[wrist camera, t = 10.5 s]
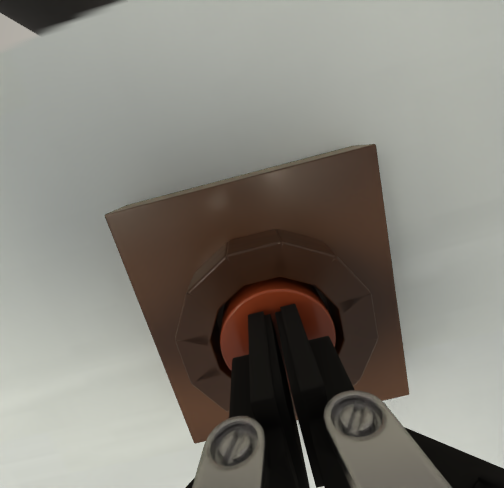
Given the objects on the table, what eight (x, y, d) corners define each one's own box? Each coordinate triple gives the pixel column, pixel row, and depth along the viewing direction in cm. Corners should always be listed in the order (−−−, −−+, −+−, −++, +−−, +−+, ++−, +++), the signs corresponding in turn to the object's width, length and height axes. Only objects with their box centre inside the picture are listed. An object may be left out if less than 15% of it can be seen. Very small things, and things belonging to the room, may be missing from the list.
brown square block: (125, 205, 13) (78, 225, 9) (354, 145, 13) (402, 141, 9) (200, 406, 16) (187, 484, 13) (387, 363, 16) (433, 429, 12)
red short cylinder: (210, 284, 12) (205, 305, 10) (313, 258, 12) (325, 276, 10) (237, 370, 13) (236, 402, 11) (331, 347, 13) (345, 377, 11)
